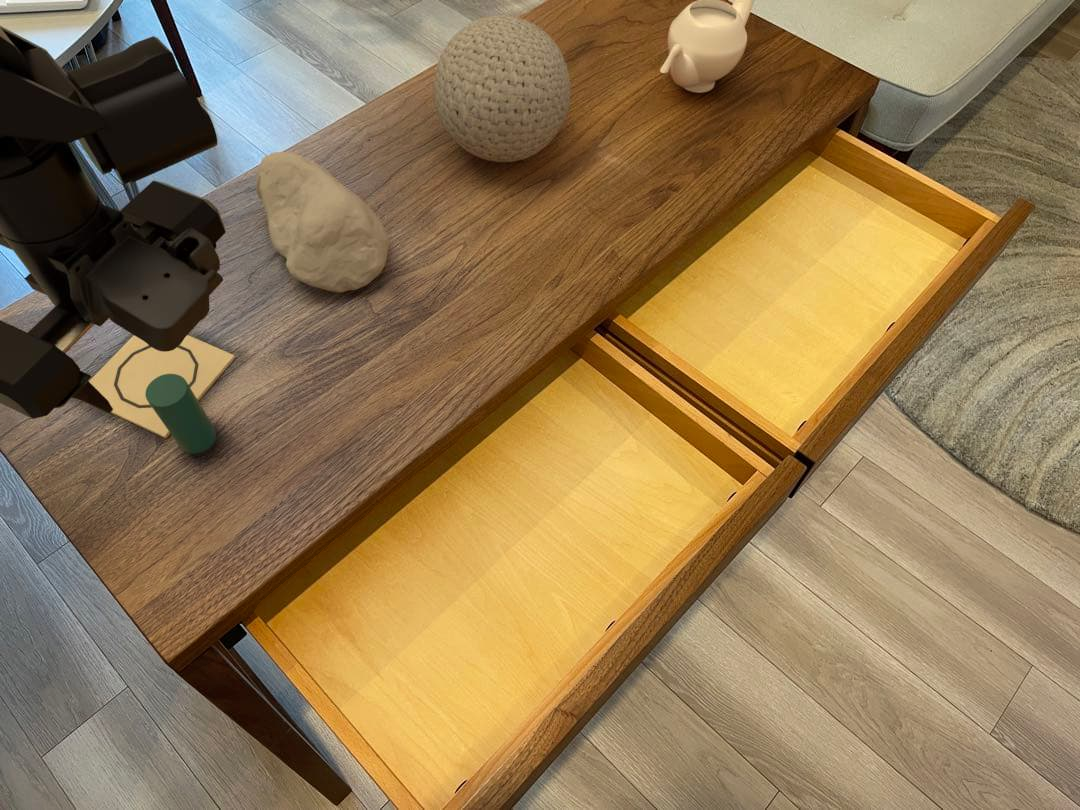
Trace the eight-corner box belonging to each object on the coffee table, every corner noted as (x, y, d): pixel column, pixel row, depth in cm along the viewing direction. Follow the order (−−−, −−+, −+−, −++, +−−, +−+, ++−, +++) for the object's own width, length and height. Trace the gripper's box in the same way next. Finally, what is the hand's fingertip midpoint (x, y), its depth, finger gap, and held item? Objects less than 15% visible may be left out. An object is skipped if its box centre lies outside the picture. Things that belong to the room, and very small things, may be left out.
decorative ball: (579, 120, 95) (590, 0, 83) (548, 202, 87) (554, 83, 75) (462, 96, 97) (455, -25, 84) (421, 175, 89) (406, 54, 76)
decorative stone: (418, 249, 79) (352, 206, 70) (357, 323, 81) (285, 289, 72) (340, 164, 87) (272, 116, 79) (286, 232, 89) (214, 192, 81)
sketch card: (77, 397, 71) (75, 394, 71) (151, 320, 76) (149, 317, 76) (166, 438, 69) (164, 436, 69) (235, 357, 74) (234, 354, 74)
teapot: (621, 101, 98) (631, 31, 90) (708, 33, 106) (724, -36, 99) (684, 135, 95) (701, 66, 87) (768, 62, 103) (790, -7, 96)
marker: (174, 450, 69) (136, 397, 62) (198, 422, 70) (163, 367, 63) (204, 464, 68) (169, 412, 61) (227, 436, 70) (195, 382, 63)
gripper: (34, 374, 40) (151, 507, 53) (256, 157, 49) (309, 315, 62) (-126, 299, 42) (24, 444, 55) (116, 105, 51) (195, 268, 64)
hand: (149, 363), depth 59 cm, fingers open, 9 cm apart
